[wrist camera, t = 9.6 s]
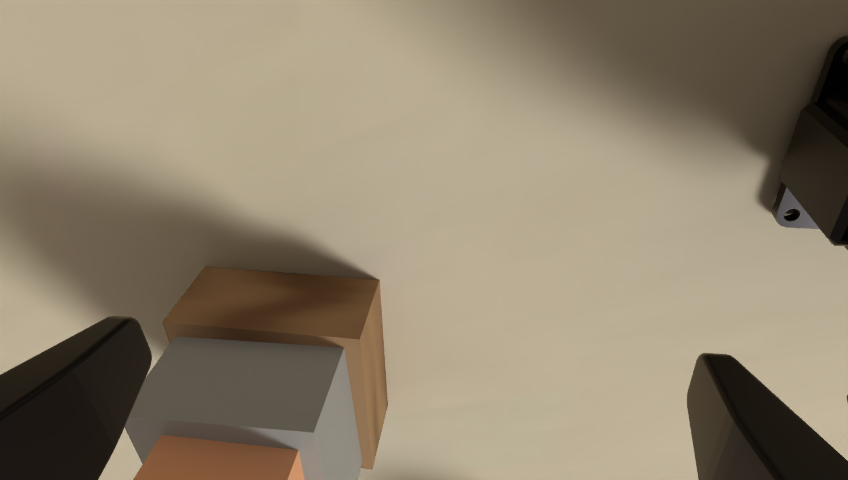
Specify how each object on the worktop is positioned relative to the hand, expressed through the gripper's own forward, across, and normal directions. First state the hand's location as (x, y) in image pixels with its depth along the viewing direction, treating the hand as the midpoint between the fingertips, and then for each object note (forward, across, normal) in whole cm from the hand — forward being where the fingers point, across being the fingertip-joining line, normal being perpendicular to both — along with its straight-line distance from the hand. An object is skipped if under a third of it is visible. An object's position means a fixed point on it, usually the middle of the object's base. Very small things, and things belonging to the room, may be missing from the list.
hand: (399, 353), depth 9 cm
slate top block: (+9, +8, +12) cm, 17 cm away
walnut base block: (+13, +8, +12) cm, 20 cm away
